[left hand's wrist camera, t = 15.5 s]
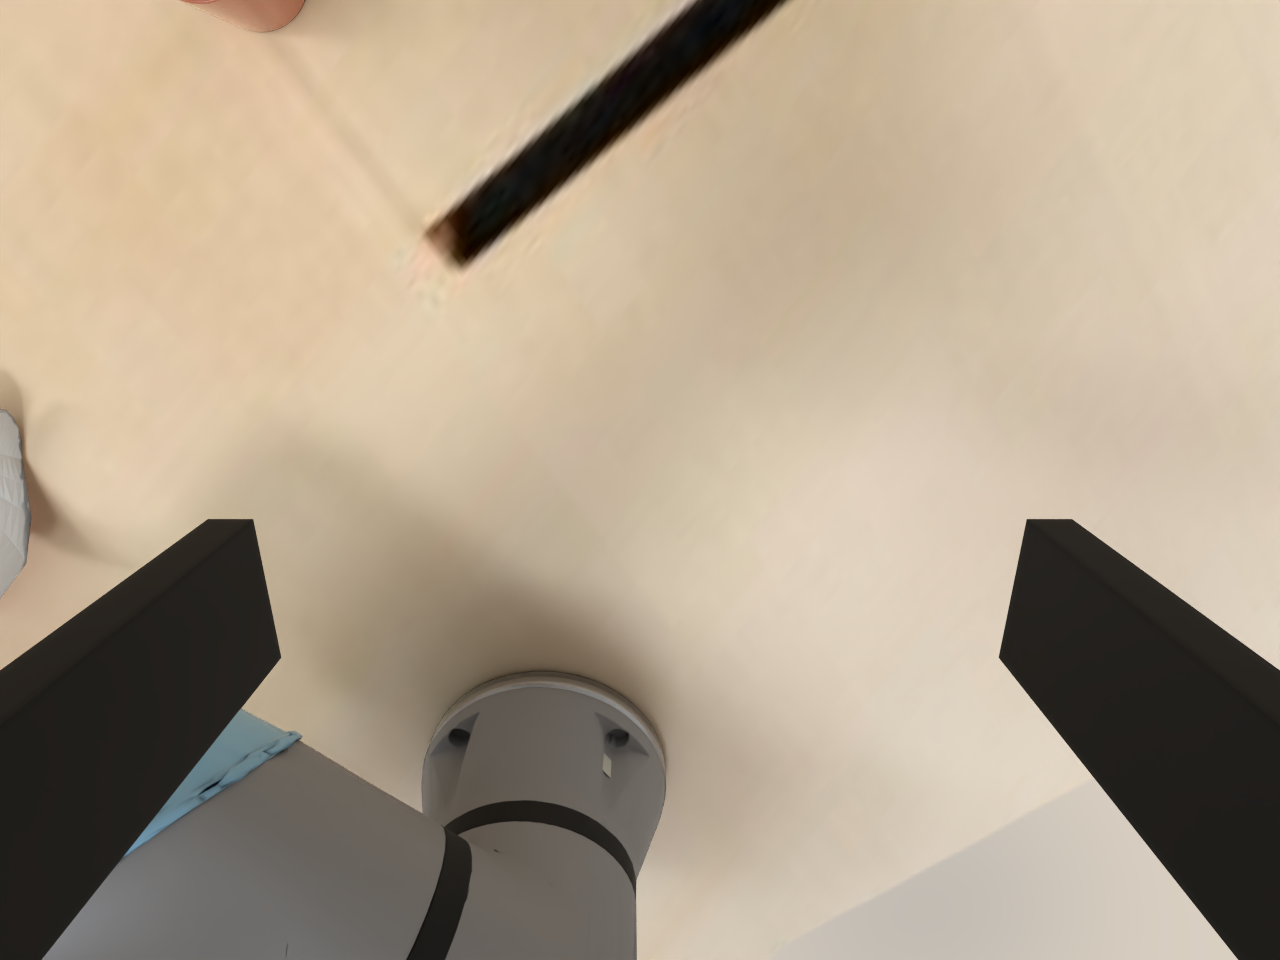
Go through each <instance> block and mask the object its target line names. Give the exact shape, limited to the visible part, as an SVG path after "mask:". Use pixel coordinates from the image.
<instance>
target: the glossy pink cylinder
mask: <svg viewBox="0 0 1280 960" xmlns="http://www.w3.org/2000/svg"><path fill="white" fill-rule="evenodd" d="M179 1H181V2H184V3H186V4H188V5H190V6H193V7H195V8H197V9H199V10H202V11H204V12H206V13H208V14H211V15H213V16H215V17H217V18H220V19H222V20H224V21H226V22H229V23H231V24H233V25H235V26H238V27H240V28H243V29H246V30H249V31H254V32H269V31H273V30H276V29H279V28H281V27H283V26H285V25H286V24H288V23H289V22H290V21H291V20H293V19H294V17H295V16H296V15H297V14H298V13H299V11H300V9H301V8H302V6H303V3H304V1H305V0H179Z"/></svg>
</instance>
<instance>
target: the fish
mask: <svg viewBox="0 0 1280 960" xmlns="http://www.w3.org/2000/svg"><path fill="white" fill-rule="evenodd" d="M30 524H31V513H30V505H29V498H28V491H27V485H26V479H25V473H24V468H23V462H22V442H21V437H20V432H19V428H18V426H17V424H16V422H15V420H14V418H13V417H12V416H11V414H10V413H9V412H8V411H7V410H2V409H0V598H1V597H2V596H3V594H4V593H5V592H6V590H7V589H8V588H9V586H10V585H11V583H12V582H13V581H14V579H15V578H16V577H17V575H18V574H19V573H20V571H21V570H22V568H23V567H24V566H25V564H26V560H27V551H28V542H29V533H30Z"/></svg>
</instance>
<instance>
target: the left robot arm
mask: <svg viewBox="0 0 1280 960" xmlns="http://www.w3.org/2000/svg"><path fill="white" fill-rule="evenodd" d="M280 658H281V654H280V649H279V644H278V640H277V635H276V630H275V625H274V620H273V615H272V610H271V605H270V600H269V595H268V590H267V585H266V580H265V575H264V571H263V566H262V561H261V556H260V551H259V546H258V541H257V536H256V531H255V526H254V521H253V519H208V520H206V521H205V522H204V523H202V524H201V525H199V526H198V527H197V528H195V529H194V530H193V531H191V532H190V533H188V534H187V535H186V536H184V537H183V538H182V539H180V540H179V541H177V542H176V543H175V544H173V545H172V546H171V547H169V548H168V549H166V550H165V551H164V552H162V553H161V554H160V555H158V556H157V557H155V558H154V559H153V560H151V561H150V562H149V563H147V564H146V565H144V566H143V567H142V568H140V569H139V570H138V571H136V572H135V573H134V574H132V575H131V576H129V577H128V578H127V579H125V580H124V581H123V582H121V583H120V584H118V585H117V586H116V587H114V588H113V589H112V590H110V591H109V592H107V593H106V594H105V595H103V596H102V597H101V598H99V599H98V600H96V601H95V602H94V603H92V604H91V605H90V606H88V607H87V608H85V609H84V610H83V611H81V612H80V613H79V614H77V615H76V616H74V617H73V618H72V619H70V620H69V621H68V622H66V623H65V624H63V625H62V626H61V627H59V628H58V629H57V630H55V631H54V632H52V633H51V634H50V635H48V636H47V637H46V638H44V639H43V640H41V641H40V642H39V643H37V644H36V645H35V646H33V647H32V648H30V649H29V650H28V651H26V652H25V653H24V654H22V655H21V656H19V657H18V658H17V659H15V660H14V661H13V662H11V663H10V664H8V665H7V666H6V667H4V668H3V669H2V670H0V960H637V942H636V879H637V877H638V874H639V872H640V869H641V867H642V864H643V861H644V859H645V856H646V854H647V851H648V849H649V846H650V843H651V841H652V838H653V836H654V833H655V831H656V828H657V825H658V823H659V820H660V817H661V814H662V809H663V805H664V800H665V792H666V780H665V761H664V755H663V750H662V747H661V744H660V741H659V739H658V736H657V734H656V732H655V731H654V729H653V727H652V725H651V724H650V723H649V721H648V720H647V718H646V717H645V716H644V715H643V714H642V713H641V711H640V710H639V709H638V708H637V707H636V706H634V705H633V704H632V703H631V702H630V701H629V700H627V699H626V698H625V697H623V696H622V695H621V694H619V693H617V692H616V691H614V690H612V689H611V688H609V687H607V686H605V685H603V684H600V683H598V682H595V681H593V680H590V679H587V678H584V677H580V676H577V675H572V674H567V673H560V672H547V671H536V672H524V673H516V674H512V675H507V676H503V677H500V678H497V679H494V680H491V681H489V682H487V683H484V684H482V685H480V686H478V687H476V688H475V689H473V690H471V691H470V692H468V693H467V694H465V695H464V696H463V697H462V698H460V699H459V700H458V701H457V702H456V703H455V704H454V705H453V706H452V707H451V708H450V709H449V710H448V711H447V712H446V714H445V715H444V716H443V718H442V719H441V721H440V723H439V724H438V726H437V728H436V730H435V732H434V735H433V737H432V740H431V742H430V745H429V748H428V750H427V753H426V756H425V760H424V765H423V774H422V807H423V814H422V813H420V812H419V811H417V810H415V809H414V808H412V807H410V806H408V805H407V804H405V803H403V802H401V801H400V800H398V799H396V798H394V797H393V796H391V795H389V794H388V793H386V792H384V791H382V790H381V789H379V788H377V787H375V786H374V785H372V784H370V783H369V782H367V781H365V780H364V779H362V778H360V777H359V776H357V775H355V774H354V773H352V772H350V771H349V770H347V769H345V768H344V767H342V766H341V765H339V764H337V763H336V762H334V761H332V760H331V759H329V758H327V757H326V756H324V755H322V754H321V753H319V752H317V751H316V750H314V749H312V748H311V747H309V746H308V745H306V744H304V743H303V742H301V741H299V740H300V739H301V738H302V737H303V736H302V735H300V734H299V733H297V732H295V731H290V732H285V731H283V730H281V729H279V728H277V727H275V726H273V725H272V724H270V723H268V722H266V721H264V720H262V719H260V718H258V717H256V716H254V715H252V714H250V713H248V712H246V711H245V710H243V709H241V708H242V706H243V705H244V704H245V703H246V701H247V700H248V699H249V698H250V696H251V695H252V694H253V692H254V691H255V690H256V689H257V687H258V686H259V685H260V684H261V682H262V681H263V680H264V679H265V677H266V676H267V675H268V674H269V672H270V671H271V670H272V668H273V667H274V666H275V665H276V663H277V662H278V661H279V660H280ZM999 658H1000V660H1001V661H1002V662H1003V663H1004V665H1005V666H1006V667H1007V668H1008V670H1009V671H1010V672H1011V674H1012V675H1013V676H1014V677H1015V679H1016V680H1017V681H1018V682H1019V684H1020V685H1021V686H1022V687H1023V689H1024V690H1025V691H1026V692H1027V694H1028V695H1029V696H1030V698H1031V699H1032V700H1033V701H1034V703H1035V704H1036V705H1037V706H1038V708H1039V709H1040V710H1041V711H1042V713H1043V714H1044V715H1045V716H1046V718H1047V719H1048V720H1049V721H1050V723H1051V724H1052V725H1053V727H1054V728H1055V729H1056V730H1057V732H1058V733H1059V734H1060V735H1061V737H1062V738H1063V739H1064V740H1065V742H1066V743H1067V744H1068V745H1069V747H1070V748H1071V749H1072V751H1073V752H1074V753H1075V754H1076V756H1077V757H1078V758H1079V759H1080V761H1081V762H1082V763H1083V764H1084V766H1085V767H1086V768H1087V769H1088V771H1089V772H1090V773H1091V774H1092V776H1093V777H1094V778H1095V780H1096V781H1097V782H1098V783H1099V785H1100V786H1101V787H1102V788H1103V790H1104V791H1105V792H1106V793H1107V795H1108V796H1109V797H1110V798H1111V800H1112V801H1113V802H1114V803H1115V805H1116V806H1117V807H1118V809H1119V810H1120V811H1121V812H1122V814H1123V815H1124V816H1125V817H1126V819H1127V820H1128V821H1129V822H1130V824H1131V825H1132V826H1133V827H1134V829H1135V830H1136V831H1137V832H1138V834H1139V835H1140V836H1141V838H1142V839H1143V840H1144V841H1145V842H1146V844H1147V845H1148V846H1149V848H1150V849H1151V850H1152V851H1153V853H1154V854H1155V855H1156V856H1157V858H1158V859H1159V860H1160V861H1161V863H1162V864H1163V865H1164V867H1165V868H1166V869H1167V870H1168V872H1169V873H1170V874H1171V875H1172V877H1173V878H1174V879H1175V880H1176V882H1177V883H1178V884H1179V886H1180V887H1181V888H1182V889H1183V891H1184V892H1185V893H1186V894H1187V896H1188V897H1189V898H1190V899H1191V901H1192V902H1193V903H1194V904H1195V906H1196V907H1197V908H1198V909H1199V911H1200V912H1201V913H1202V915H1203V916H1204V917H1205V918H1206V920H1207V921H1208V922H1209V923H1210V925H1211V926H1212V927H1213V928H1214V930H1215V931H1216V932H1217V933H1218V935H1219V936H1220V937H1221V939H1222V940H1223V941H1224V942H1225V944H1226V945H1227V946H1228V947H1229V949H1230V950H1231V951H1232V952H1233V954H1234V955H1235V956H1236V957H1237V959H1238V960H1280V670H1278V669H1277V668H1276V667H1274V666H1273V665H1272V664H1270V663H1269V662H1267V661H1266V660H1265V659H1263V658H1262V657H1261V656H1259V655H1258V654H1256V653H1255V652H1254V651H1252V650H1251V649H1250V648H1248V647H1247V646H1245V645H1244V644H1243V643H1241V642H1240V641H1239V640H1237V639H1236V638H1234V637H1233V636H1232V635H1230V634H1229V633H1228V632H1226V631H1225V630H1223V629H1222V628H1221V627H1219V626H1218V625H1217V624H1215V623H1214V622H1212V621H1211V620H1210V619H1208V618H1207V617H1206V616H1204V615H1203V614H1201V613H1200V612H1199V611H1197V610H1196V609H1195V608H1193V607H1192V606H1190V605H1189V604H1188V603H1186V602H1185V601H1184V600H1182V599H1181V598H1179V597H1178V596H1177V595H1175V594H1174V593H1173V592H1171V591H1170V590H1168V589H1167V588H1166V587H1164V586H1163V585H1162V584H1160V583H1159V582H1157V581H1156V580H1155V579H1153V578H1152V577H1151V576H1149V575H1148V574H1146V573H1145V572H1144V571H1142V570H1141V569H1140V568H1138V567H1137V566H1136V565H1134V564H1133V563H1131V562H1130V561H1129V560H1127V559H1126V558H1125V557H1123V556H1122V555H1120V554H1119V553H1118V552H1116V551H1115V550H1114V549H1112V548H1111V547H1109V546H1108V545H1107V544H1105V543H1104V542H1103V541H1101V540H1100V539H1098V538H1097V537H1096V536H1094V535H1093V534H1092V533H1090V532H1089V531H1087V530H1086V529H1085V528H1083V527H1082V526H1081V525H1079V524H1078V523H1076V522H1075V521H1074V520H1072V519H1027V521H1026V526H1025V531H1024V536H1023V541H1022V546H1021V551H1020V556H1019V561H1018V566H1017V571H1016V575H1015V580H1014V585H1013V590H1012V595H1011V600H1010V605H1009V610H1008V615H1007V620H1006V625H1005V630H1004V635H1003V640H1002V644H1001V649H1000V654H999Z"/></svg>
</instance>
